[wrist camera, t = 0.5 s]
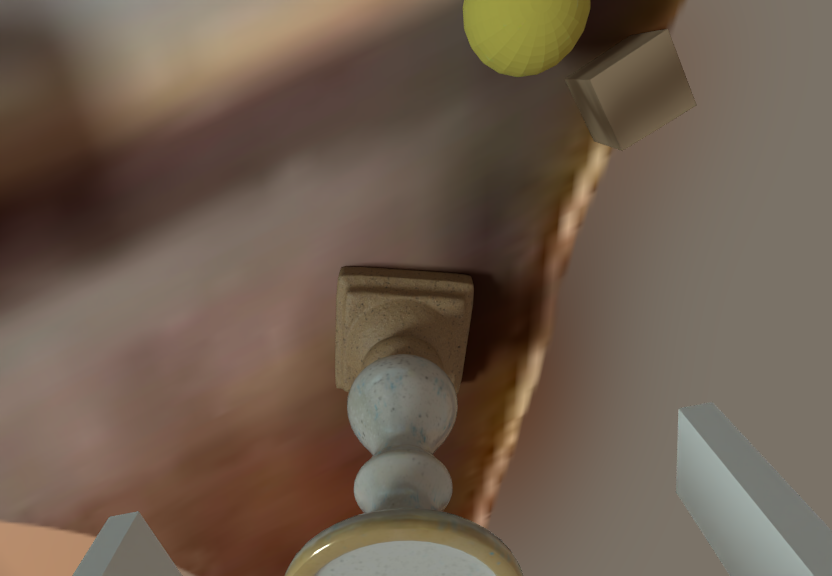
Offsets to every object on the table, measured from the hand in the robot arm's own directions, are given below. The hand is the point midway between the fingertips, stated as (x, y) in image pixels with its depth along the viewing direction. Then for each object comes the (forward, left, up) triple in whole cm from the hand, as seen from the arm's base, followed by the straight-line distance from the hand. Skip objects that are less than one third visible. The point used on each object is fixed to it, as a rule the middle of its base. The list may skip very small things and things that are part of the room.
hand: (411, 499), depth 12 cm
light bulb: (-11, +9, -28) cm, 31 cm away
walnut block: (-5, +16, -28) cm, 32 cm away
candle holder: (+10, -3, -28) cm, 30 cm away
